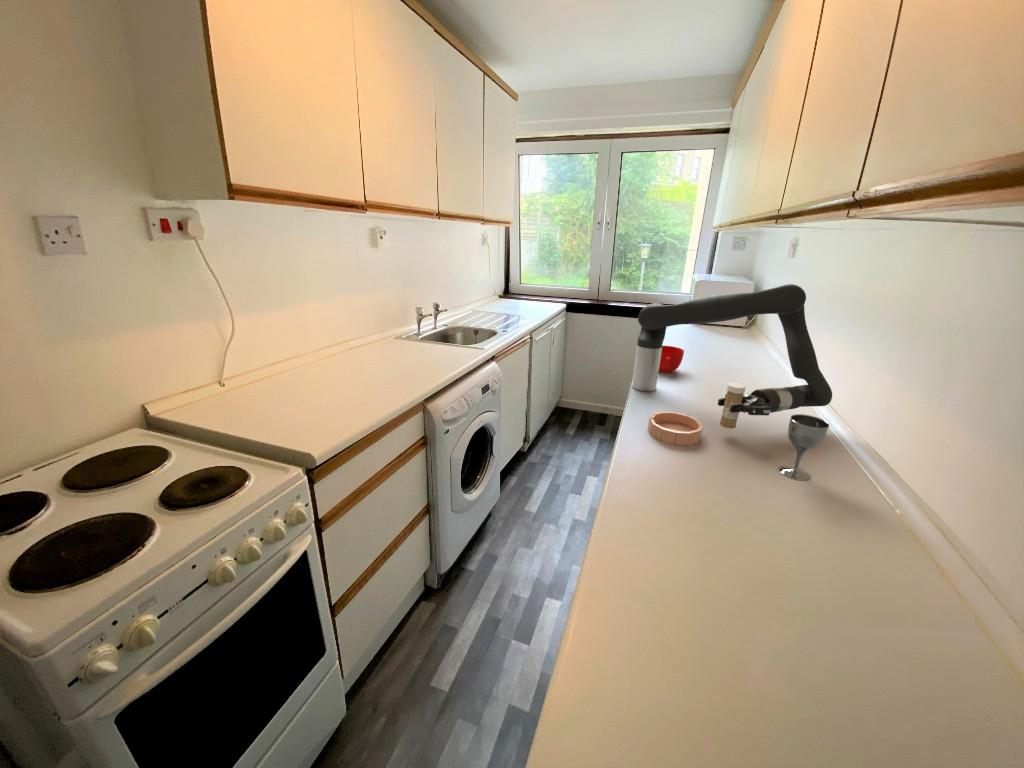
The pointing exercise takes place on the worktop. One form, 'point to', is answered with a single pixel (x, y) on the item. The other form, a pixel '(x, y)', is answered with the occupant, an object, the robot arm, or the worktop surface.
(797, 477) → the wine glass
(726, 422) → the sprinkles bottle
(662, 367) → the ceramic cup
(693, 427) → the terracotta bowl
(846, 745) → the worktop surface
